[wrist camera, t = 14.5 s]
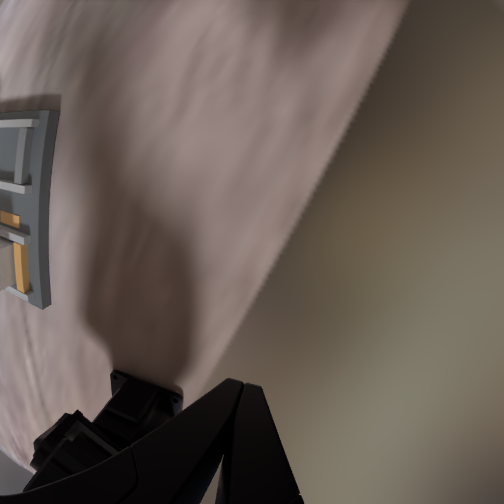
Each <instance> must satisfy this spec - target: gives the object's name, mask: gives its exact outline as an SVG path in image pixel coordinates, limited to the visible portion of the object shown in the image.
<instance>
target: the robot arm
mask: <svg viewBox="0 0 504 504" xmlns="http://www.w3.org/2000/svg"><path fill="white" fill-rule="evenodd" d="M110 378H111V390H112V398H111V399H110V400H109V401H108V402H107V404H106V405H105V407H104V408H103V409H102V410H101V412H100V413H99V414H98V415H97V417H96V418H95V419H94V420H93V422H90V421H89V420H88V419H87V418H85V417H84V416H83V414H82V413H81V412H80V411H79V410H78V409H77V410H76V411H75V412H74V413H73V414H68V413H65V414H64V415H63V416H62V417H61V418H60V419H59V420H58V421H57V422H56V423H55V424H54V425H53V426H52V427H51V428H49V429H48V430H47V431H46V432H44V433H43V434H42V435H40V436H39V437H38V438H37V439H36V440H35V441H34V443H33V444H34V450H35V453H34V454H33V457H34V458H33V459H32V461H31V463H30V466H31V467H32V468H34V469H35V470H36V471H37V472H36V473H35V475H34V476H33V477H32V479H31V480H30V481H29V483H28V484H27V485H26V487H25V488H24V490H23V493H19V494H13V495H0V504H200V503H201V501H202V499H203V497H204V495H205V493H206V491H207V489H208V487H209V485H210V483H211V481H212V479H213V477H214V475H215V473H216V471H217V469H218V467H219V465H220V463H221V460H222V457H223V460H222V464H221V469H220V475H219V481H218V488H217V494H216V500H215V504H304V501H303V498H302V496H301V495H299V494H300V491H299V489H298V486H297V483H296V481H295V478H294V475H293V473H292V470H291V467H290V465H289V462H288V459H287V457H286V454H285V451H284V448H283V446H282V443H281V440H280V437H279V434H278V432H277V429H276V426H275V423H274V420H273V418H272V415H271V412H270V409H269V406H268V403H267V401H266V398H265V395H264V392H263V389H262V387H261V386H258V385H255V384H250V383H245V384H244V383H243V382H242V381H239V380H235V379H232V378H227V379H225V380H224V381H223V382H221V383H220V384H219V385H217V386H216V387H215V388H213V389H212V390H211V391H209V392H208V393H206V394H205V395H204V396H202V397H201V398H200V399H198V400H197V401H195V402H194V403H193V404H191V405H190V406H188V407H187V408H186V409H184V410H183V411H182V404H183V398H182V396H181V395H179V394H177V393H175V392H172V391H169V390H166V389H163V388H160V387H158V386H155V385H152V384H150V383H147V382H144V381H142V380H139V379H137V378H134V377H132V376H129V375H127V374H124V373H122V372H120V371H117V370H113V371H112V373H111V374H110ZM176 399H177V400H176ZM223 455H224V456H223Z"/></svg>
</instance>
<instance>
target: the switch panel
mask: <svg viewBox="0 0 504 504" xmlns="http://www.w3.org/2000/svg"><path fill="white" fill-rule="evenodd" d="M59 114H60V111H53V110H37V111H19V112H6V113H0V237H3V238H5V239H8V240H10V241H12V242H14V260H15V273H16V283H15V284H13V285H11V286H9V287H7V288H5V290H7V291H9V292H10V293H12V294H14V295H16V296H17V297H19V298H21V299H23V300H25V301H27V302H29V303H30V304H32V305H34V306H36V307H38V308H40V309H42V310H43V309H45V308H46V307H48V306H49V305H51V296H50V282H49V260H48V219H49V197H50V182H51V171H52V162H53V153H54V145H55V138H56V132H57V125H58V120H59Z"/></svg>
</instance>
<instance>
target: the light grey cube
mask: <svg viewBox="0 0 504 504" xmlns="http://www.w3.org/2000/svg"><path fill="white" fill-rule="evenodd" d="M15 283H16V273H15V260H14V242H12V241H10V240H8V239H5V238H3V237H0V291H1V290H3V289H5V288H7V287H9V286H11V285H13V284H15Z"/></svg>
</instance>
